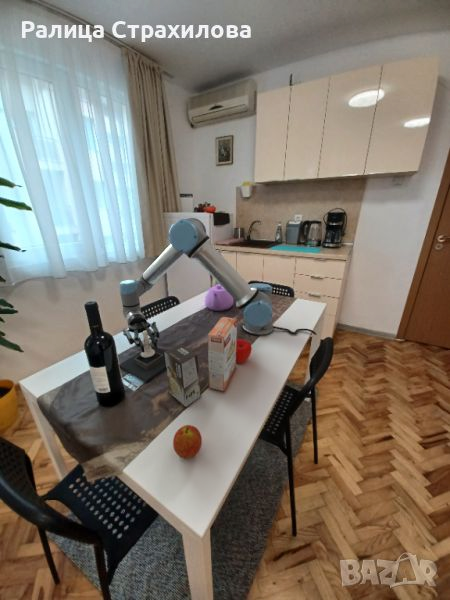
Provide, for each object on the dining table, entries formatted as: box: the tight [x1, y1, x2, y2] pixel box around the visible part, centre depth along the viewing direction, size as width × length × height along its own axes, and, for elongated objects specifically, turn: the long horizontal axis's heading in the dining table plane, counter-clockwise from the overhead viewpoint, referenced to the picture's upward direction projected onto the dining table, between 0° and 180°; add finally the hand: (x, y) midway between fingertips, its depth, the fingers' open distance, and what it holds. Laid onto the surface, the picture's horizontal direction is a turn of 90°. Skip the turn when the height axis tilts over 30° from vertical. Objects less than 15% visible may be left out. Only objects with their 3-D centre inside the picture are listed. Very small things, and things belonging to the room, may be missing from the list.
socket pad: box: [118, 345, 167, 383], centre depth 93 cm, size 16×16×3 cm
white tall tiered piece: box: [140, 330, 155, 358], centre depth 90 cm, size 5×5×10 cm
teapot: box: [204, 283, 234, 312], centre depth 143 cm, size 25×18×14 cm
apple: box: [236, 338, 253, 364], centre depth 94 cm, size 9×9×8 cm
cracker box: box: [207, 316, 238, 392], centre depth 82 cm, size 14×6×21 cm, turn 161°
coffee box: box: [164, 343, 201, 408], centre depth 75 cm, size 9×6×16 cm
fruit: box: [172, 424, 203, 459], centre depth 58 cm, size 7×7×8 cm
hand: (149, 347), depth 85 cm, fingers closed on white tall tiered piece, 4 cm apart
